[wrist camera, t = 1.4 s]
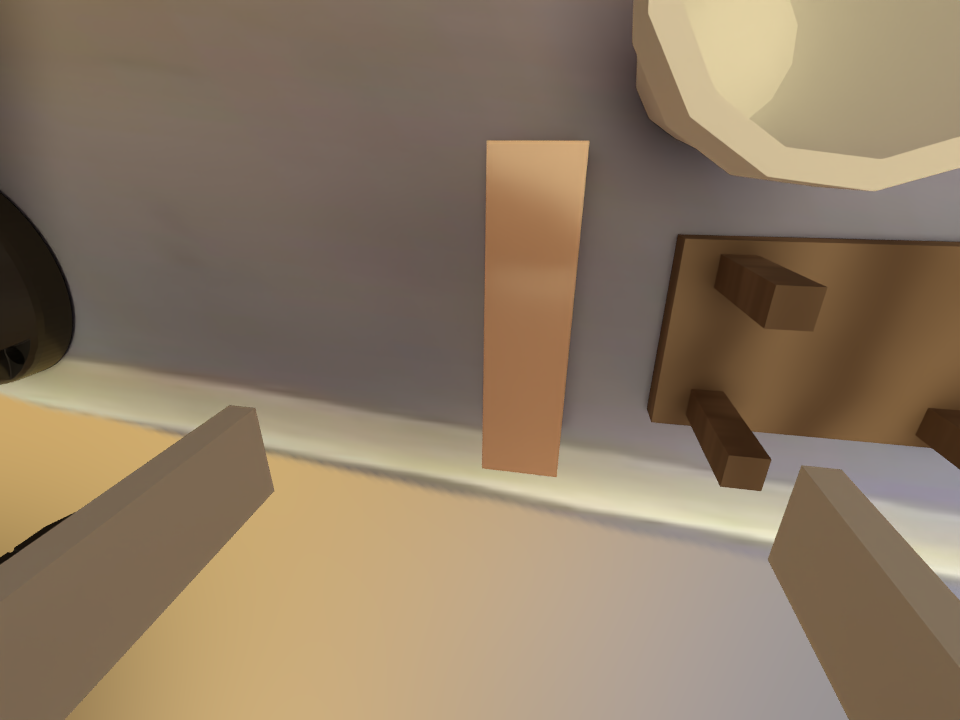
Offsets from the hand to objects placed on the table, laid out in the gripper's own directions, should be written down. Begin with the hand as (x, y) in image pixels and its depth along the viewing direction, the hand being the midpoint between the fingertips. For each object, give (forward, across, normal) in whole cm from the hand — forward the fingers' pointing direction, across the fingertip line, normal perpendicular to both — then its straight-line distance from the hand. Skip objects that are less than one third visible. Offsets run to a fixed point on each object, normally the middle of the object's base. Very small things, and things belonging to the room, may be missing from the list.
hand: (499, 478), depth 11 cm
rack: (+15, +15, -1) cm, 21 cm away
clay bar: (+16, 0, 0) cm, 16 cm away
